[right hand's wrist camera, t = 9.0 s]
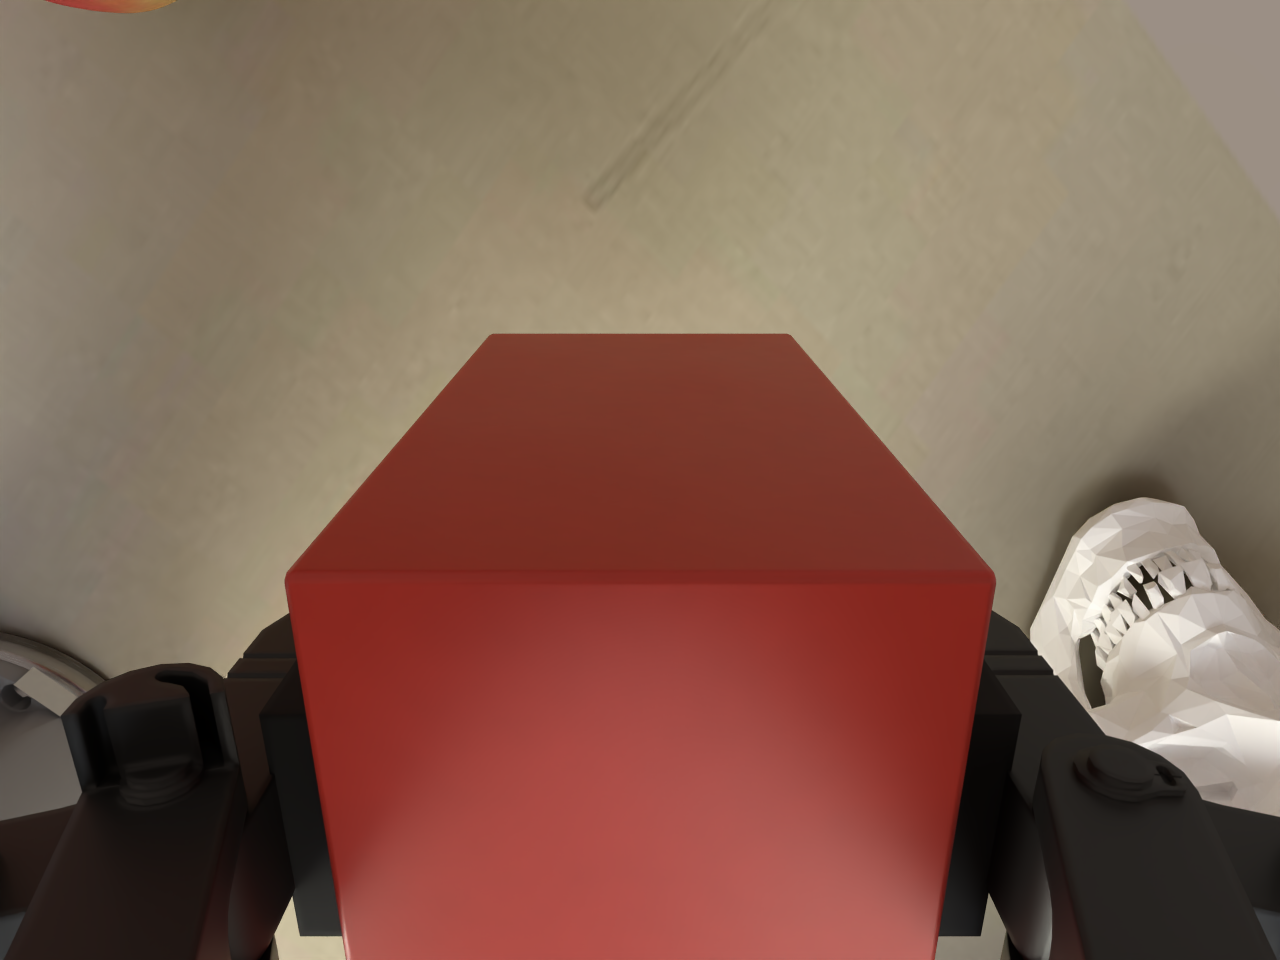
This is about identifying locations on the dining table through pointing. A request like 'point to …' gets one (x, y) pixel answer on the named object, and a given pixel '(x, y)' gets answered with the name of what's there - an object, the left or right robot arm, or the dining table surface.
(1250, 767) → the skull
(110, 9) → the apple
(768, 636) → the brick
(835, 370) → the dining table surface
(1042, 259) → the dining table surface
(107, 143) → the dining table surface
